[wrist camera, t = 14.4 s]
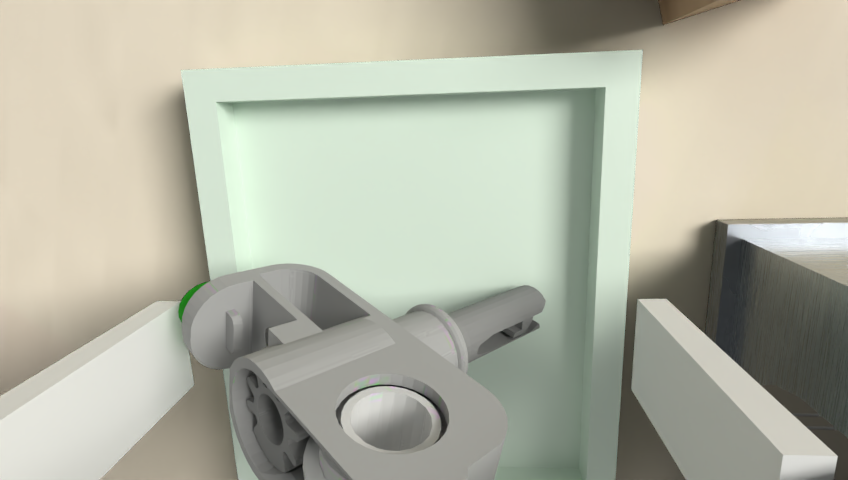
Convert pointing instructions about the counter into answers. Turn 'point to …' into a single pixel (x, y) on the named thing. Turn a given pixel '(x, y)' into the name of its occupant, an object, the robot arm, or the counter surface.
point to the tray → (446, 212)
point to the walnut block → (687, 8)
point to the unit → (785, 306)
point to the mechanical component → (353, 376)
